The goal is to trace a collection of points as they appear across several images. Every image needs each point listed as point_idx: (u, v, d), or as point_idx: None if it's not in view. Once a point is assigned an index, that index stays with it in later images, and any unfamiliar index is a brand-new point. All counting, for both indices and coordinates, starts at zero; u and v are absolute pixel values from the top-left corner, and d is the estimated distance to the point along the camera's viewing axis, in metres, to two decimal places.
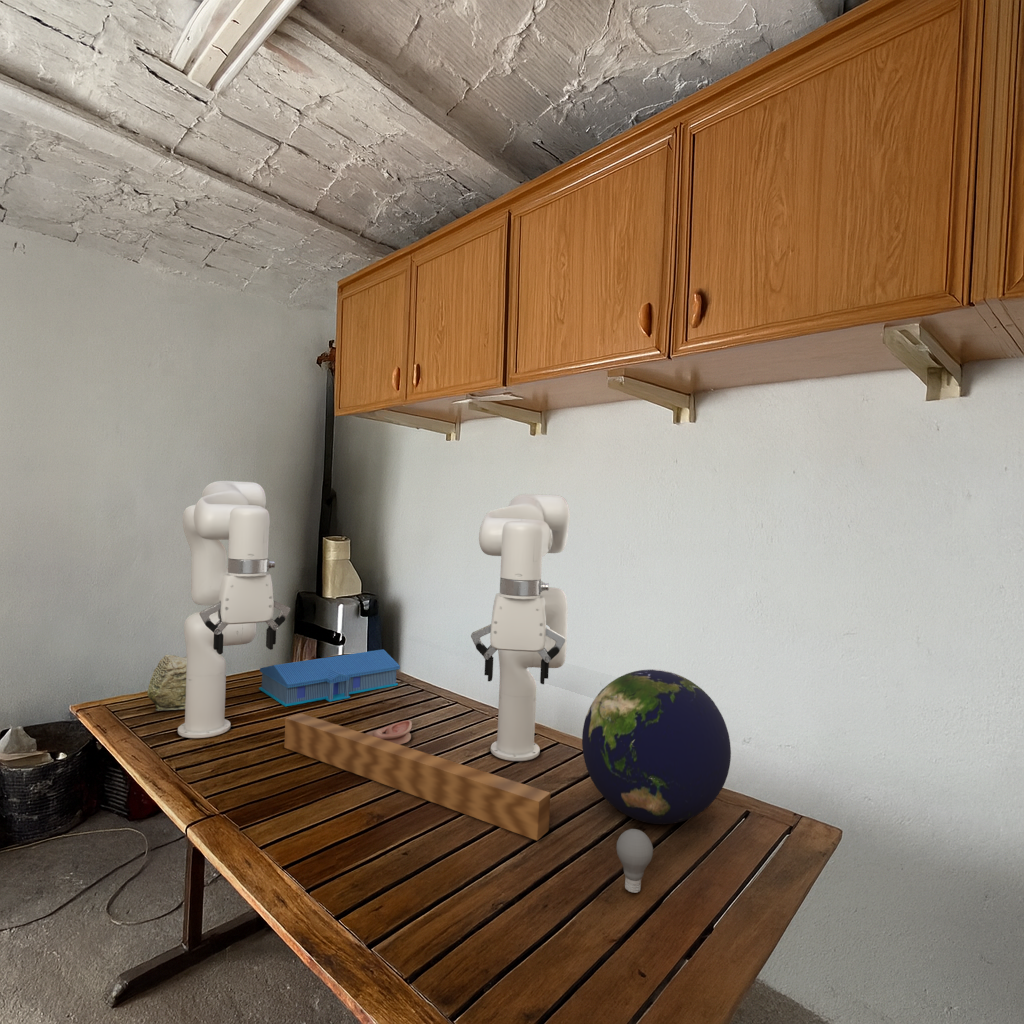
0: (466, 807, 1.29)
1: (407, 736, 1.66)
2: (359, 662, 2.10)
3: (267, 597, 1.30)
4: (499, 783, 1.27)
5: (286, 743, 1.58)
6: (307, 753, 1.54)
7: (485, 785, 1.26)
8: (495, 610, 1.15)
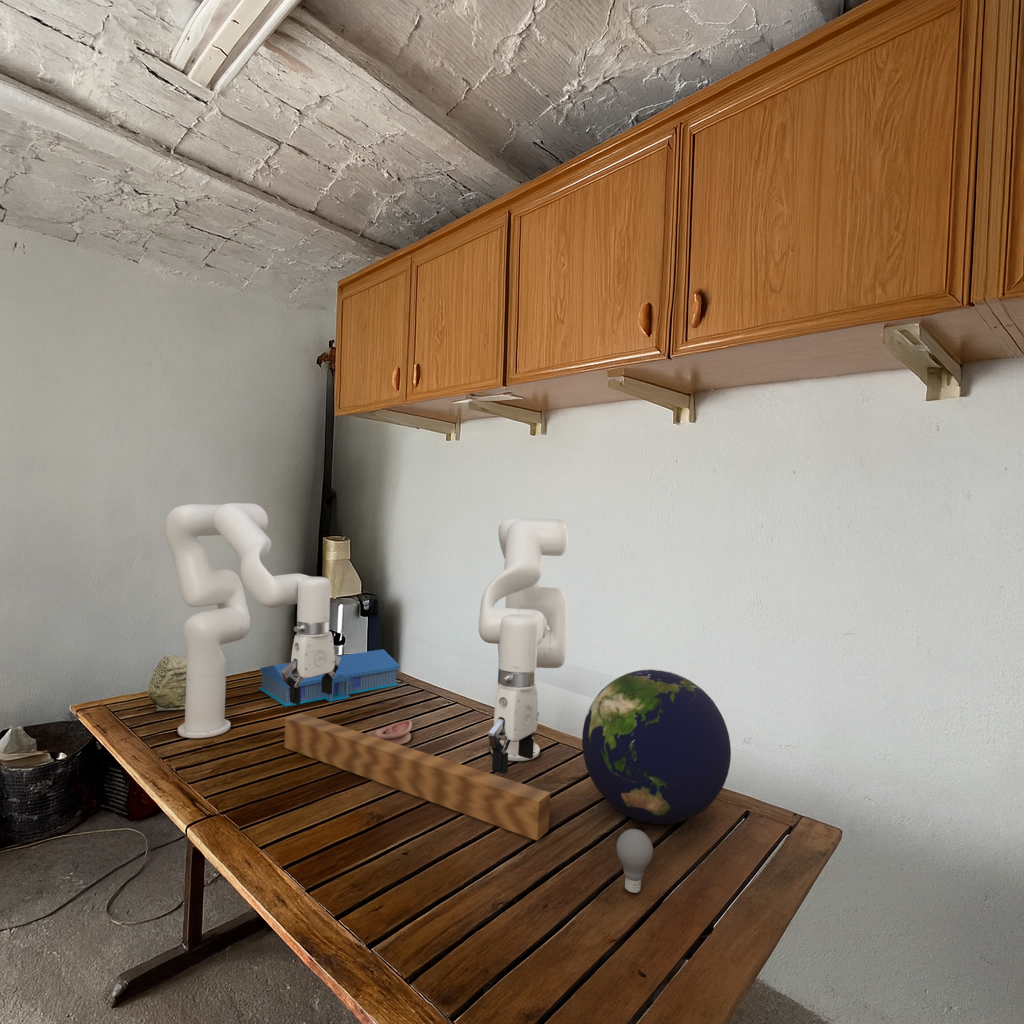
0: (466, 807, 1.29)
1: (407, 736, 1.66)
2: (359, 662, 2.10)
3: None
4: (499, 783, 1.27)
5: (286, 743, 1.58)
6: (307, 753, 1.54)
7: (485, 785, 1.26)
8: None
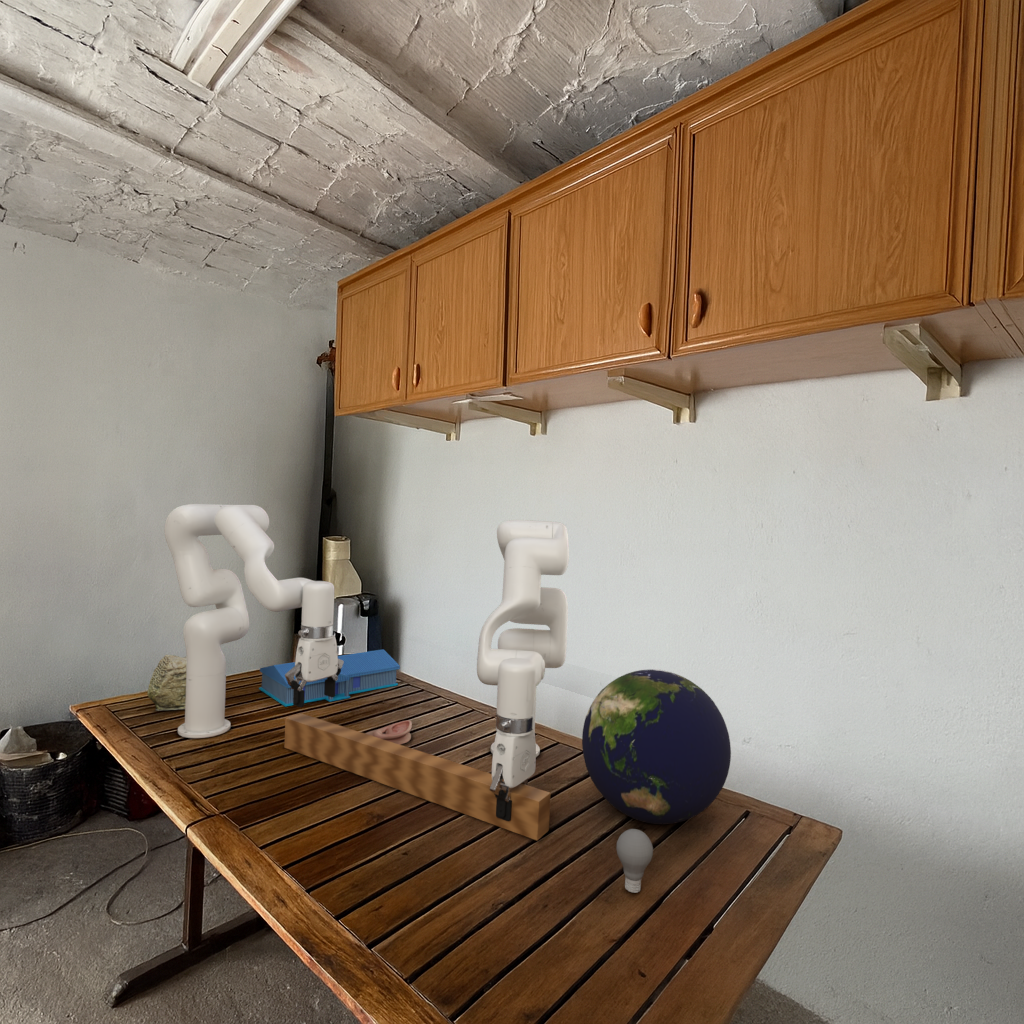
0: (466, 806, 1.29)
1: (407, 736, 1.66)
2: (359, 662, 2.10)
3: None
4: None
5: (286, 743, 1.58)
6: (308, 753, 1.54)
7: (485, 785, 1.26)
8: None
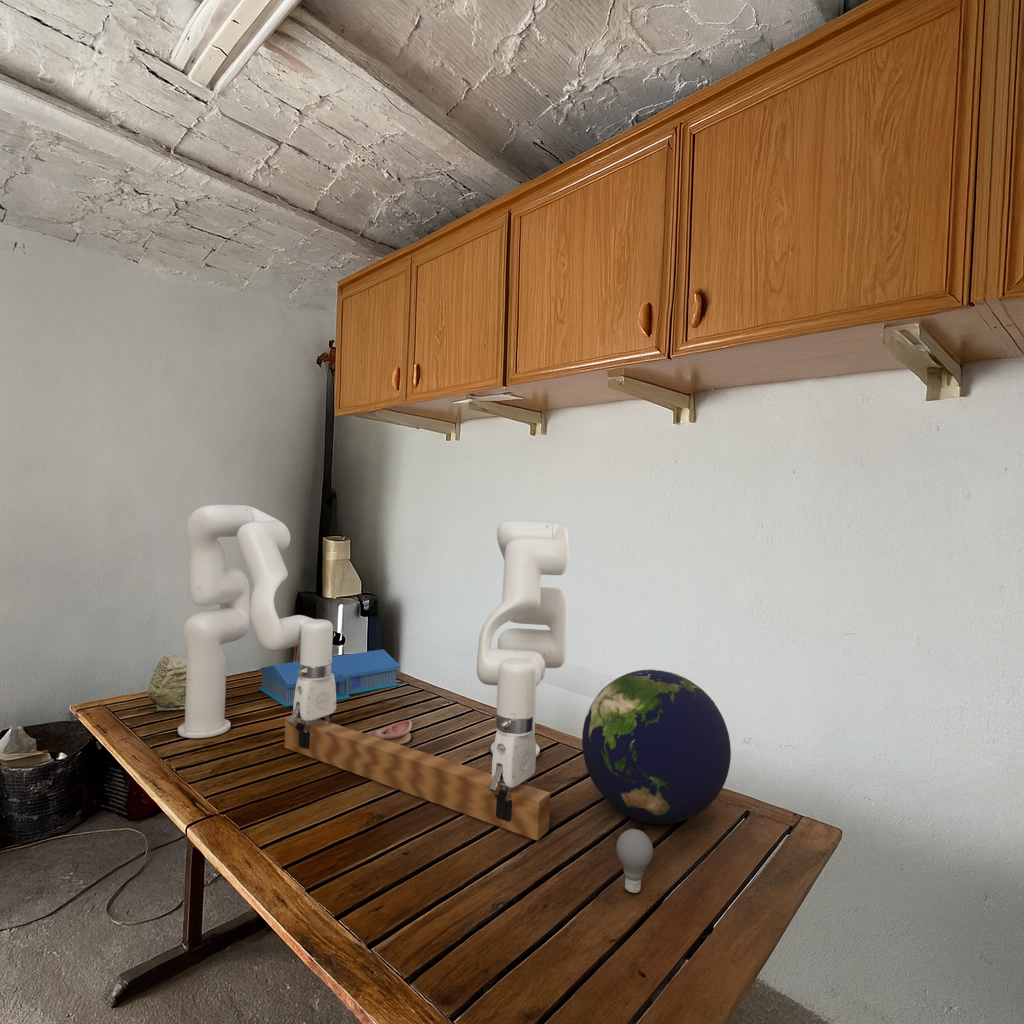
0: (466, 806, 1.29)
1: (407, 736, 1.66)
2: (359, 662, 2.10)
3: None
4: None
5: (286, 743, 1.58)
6: (308, 753, 1.54)
7: (485, 785, 1.26)
8: None
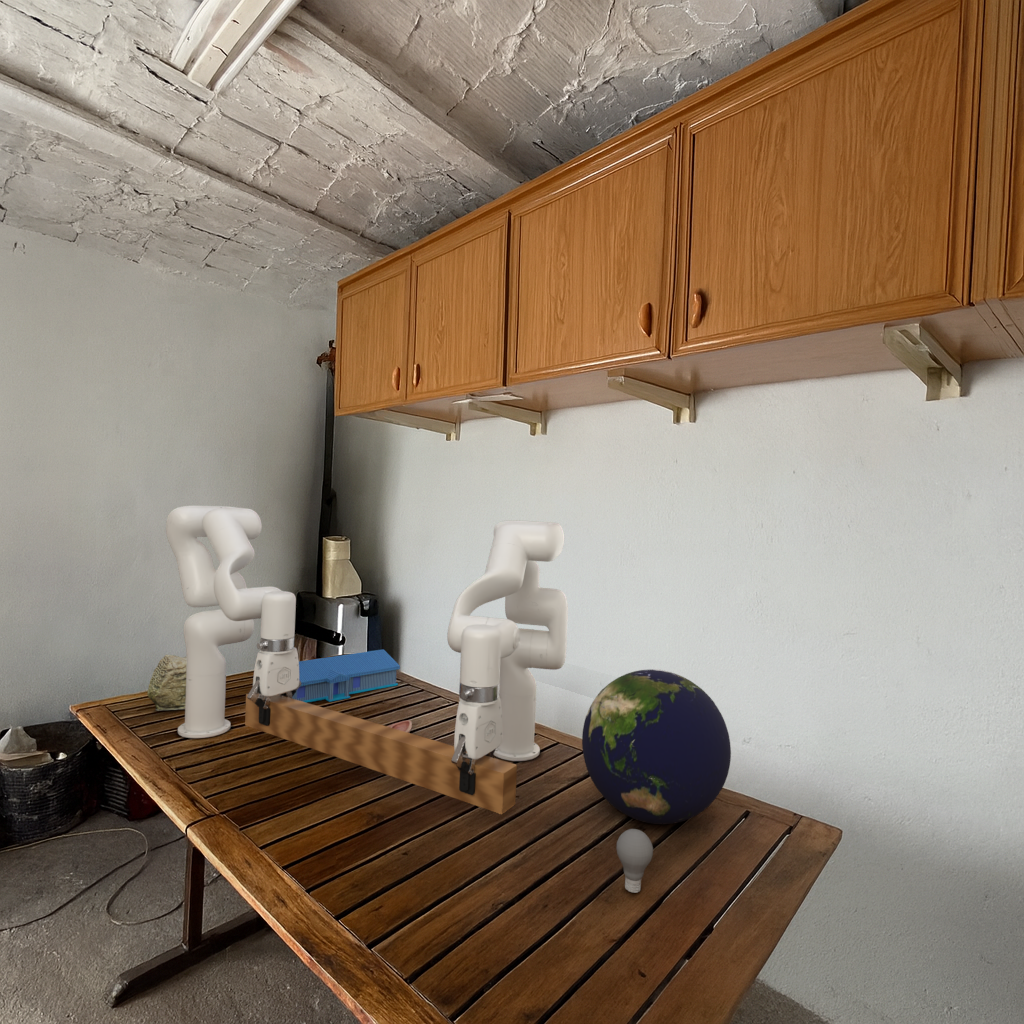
0: (429, 781, 1.22)
1: None
2: (359, 662, 2.10)
3: None
4: None
5: (246, 720, 1.51)
6: (268, 731, 1.47)
7: (449, 757, 1.20)
8: None
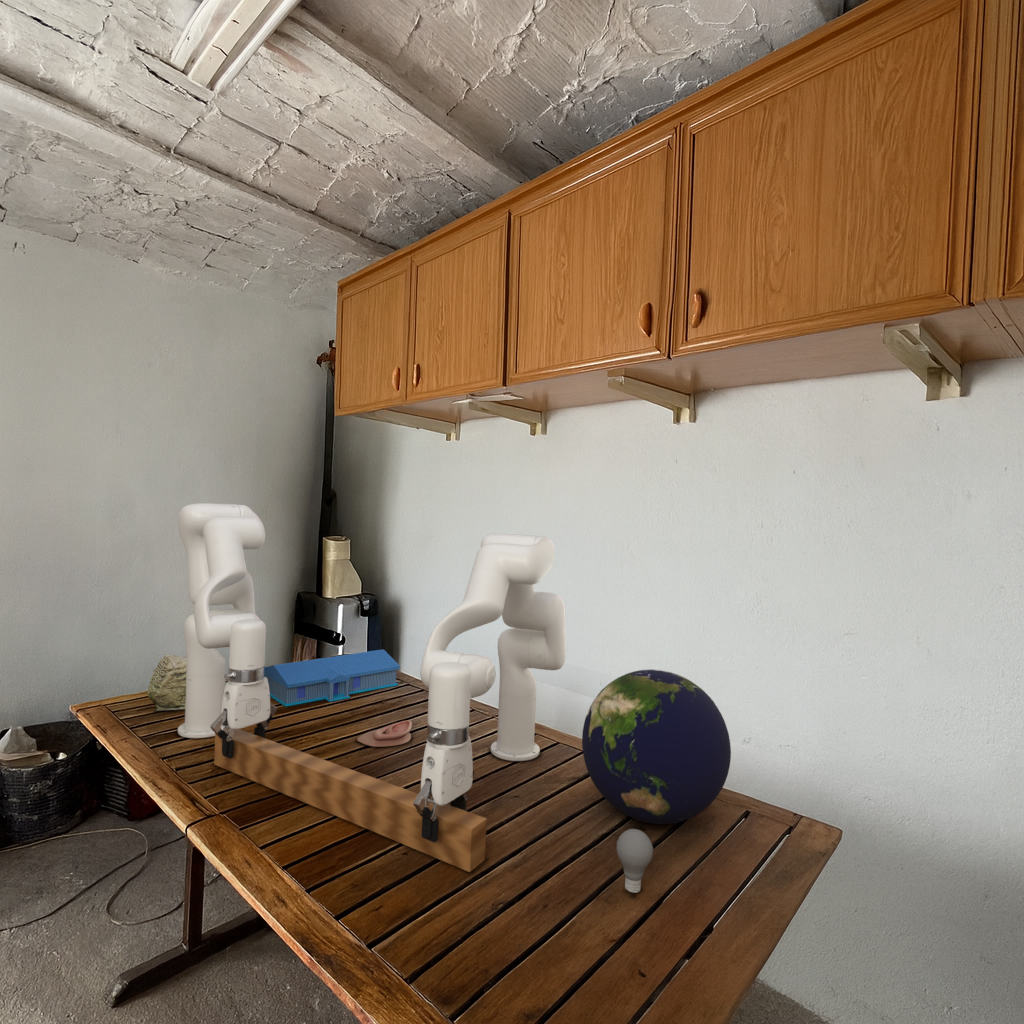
0: (397, 833, 1.18)
1: (407, 736, 1.66)
2: (359, 662, 2.10)
3: None
4: (432, 807, 1.16)
5: (215, 760, 1.47)
6: (237, 771, 1.43)
7: (416, 809, 1.15)
8: None
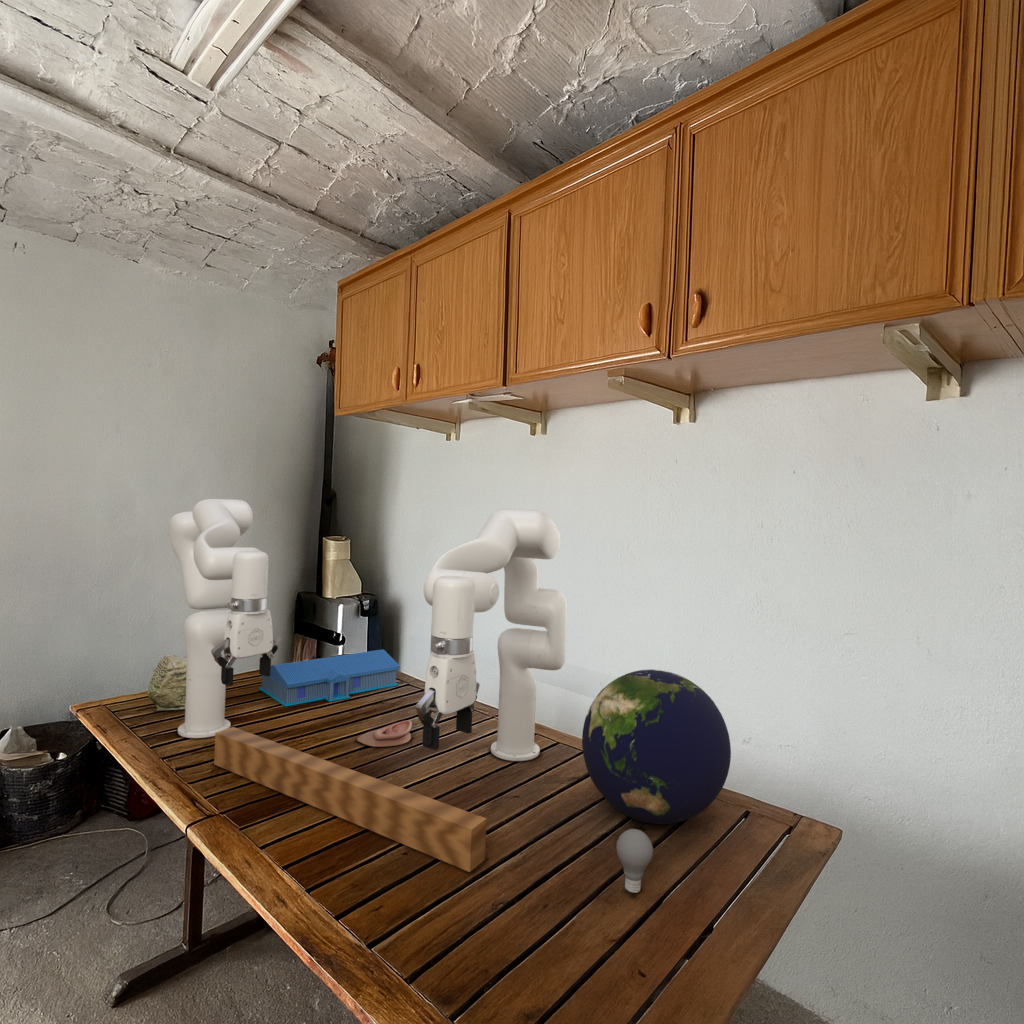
0: (397, 833, 1.18)
1: (407, 736, 1.66)
2: (359, 662, 2.10)
3: None
4: (432, 807, 1.16)
5: (215, 760, 1.47)
6: (237, 771, 1.43)
7: (416, 809, 1.15)
8: None
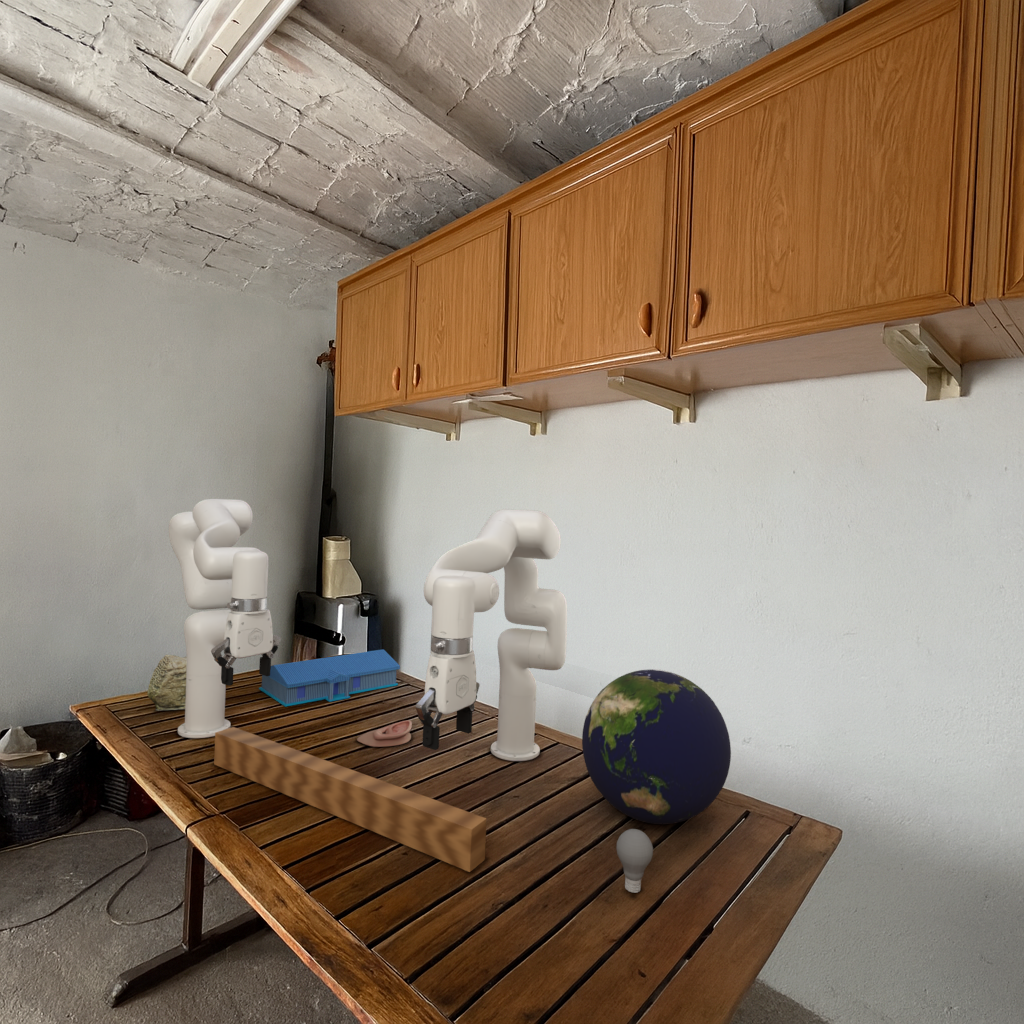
0: (397, 833, 1.18)
1: (407, 736, 1.66)
2: (359, 662, 2.10)
3: None
4: (432, 807, 1.16)
5: (215, 760, 1.47)
6: (237, 771, 1.43)
7: (416, 809, 1.15)
8: None
